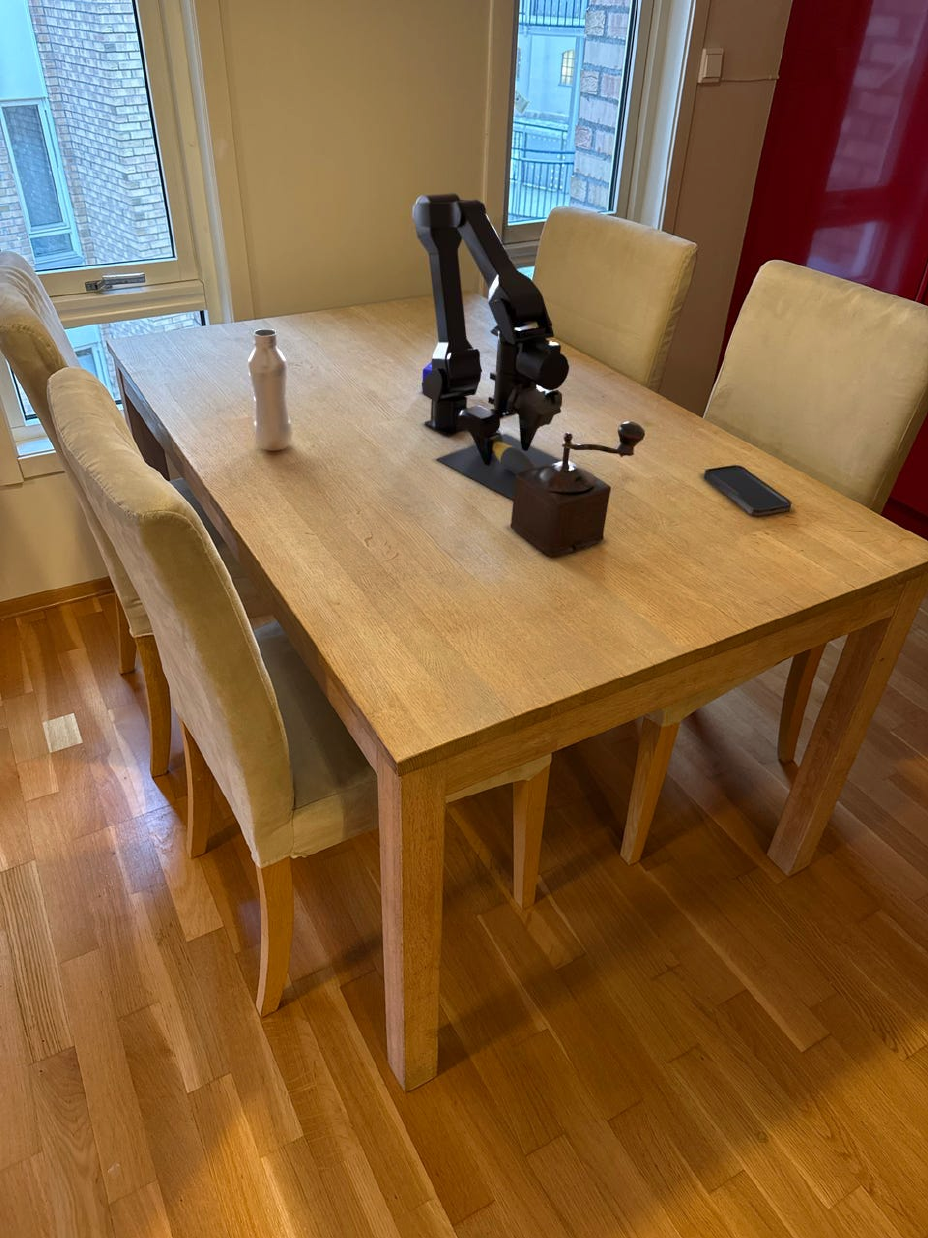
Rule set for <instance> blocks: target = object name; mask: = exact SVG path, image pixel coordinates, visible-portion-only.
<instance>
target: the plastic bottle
mask: <svg viewBox="0 0 928 1238" xmlns="http://www.w3.org/2000/svg"><path fill="white" fill-rule="evenodd" d="M277 335H278V334H277V331H276V330H275V329H273V328H259V329H256V330H254V331H253V346H255V348H254V349H253V351H252V352H251V354H250V356H249V358H248V360H247V371H248V375H249V380H250V383H251V387H252V388H251V389H252V393H253V401H254V425H253V436H254V439H255V443H256V444H257V445H258V447H259V448H261V449H263V450H266V451H279V450H283V449H284V450H285V448H288V447H289V446H290V444H291V442H292V439H293V428H292V423H291V421H290V416H289V409H288V404H287V377H288V376H287V373H288V362H287V360H286V358H285V355H284V354H283V353H282V351H281V350H280V349H279V348H278V347H277V345H278V343H279V341H278V338H277Z"/></svg>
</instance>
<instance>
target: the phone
mask: <svg viewBox="0 0 928 1238" xmlns="http://www.w3.org/2000/svg"><path fill="white" fill-rule="evenodd" d="M703 479H704V480H705V481H707V482H708V483H709V484H711V485H712V486H713V487H715V489H717V490H718V491H720V492H721V493H722V494H724V495H725V496H726V497H727V498H729V499H730V500H731V501H733V502H734V503H735V504H736V505H738V506H739V507H740V508H742V509H743V510H744V511H746V512H747V513H748V514H749V515H752V516H754V517H761V516H768V515H773V514H779V513H784V512H788V511H789V512H790V510H791V507H792V503H793V502H792V501H791V500H789V498H787V497H786V496H784V495H783V494H781V493H780V492H779V491H777V490H776V489H775V488H774V487H772V486H770V485H769V484H768V483H766V482H765V481H764V480H762V479H761V478H759V477H758V476H757V475H755V474H754V473H753V472H751V471H750V470H749V469H747V468H746V467H744V466H742V465H740V464H739V465H738V464H732V465H726V466H725V465H724V466H719V467H713V468H707V469H705V470H704V472H703Z"/></svg>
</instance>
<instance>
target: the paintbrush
mask: <svg viewBox="0 0 928 1238" xmlns="http://www.w3.org/2000/svg"><path fill="white" fill-rule="evenodd" d="M497 432H499V433H500V434H499V435H498V436H497V437H496V438H495V439H494V442H493V451H492V454H493V453H494V454H495V455H496V457H497V458H498V460H499V461H500V463H501V464H502V465H503V466H504V467H505V468H507V469H508V470H509V471H511V472H512V473H514V474H515V475H516V473H520V472H524V471H527V470H531V469H535V468H537V467H536V466H535V465H534V463H533V462H532V461H531V460H530V459H529V458H528V457H527V456H526V455H525V454H523V453H522V452H521V451H520V450H518V449H517V448H515V447H513V446H510V445H508V444H505V443H502V435H503V434H502V432H501V430H499V429H498V431H497ZM472 442H473V446H475V448H476V449H477V450H478V448H477V445H476V443H475V441H474V439H473V438H472ZM478 451H479V450H478Z"/></svg>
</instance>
